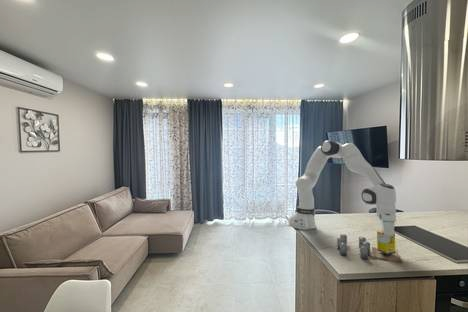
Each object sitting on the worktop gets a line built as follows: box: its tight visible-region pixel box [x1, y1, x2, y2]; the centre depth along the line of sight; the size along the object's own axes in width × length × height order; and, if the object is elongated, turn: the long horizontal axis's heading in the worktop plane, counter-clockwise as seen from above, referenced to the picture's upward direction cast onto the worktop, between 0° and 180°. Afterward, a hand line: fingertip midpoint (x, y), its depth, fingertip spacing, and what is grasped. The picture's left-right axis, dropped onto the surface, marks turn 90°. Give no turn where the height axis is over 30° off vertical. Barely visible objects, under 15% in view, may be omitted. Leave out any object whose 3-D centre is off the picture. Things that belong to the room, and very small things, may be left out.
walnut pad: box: [371, 246, 403, 264], centre depth 124 cm, size 12×14×1 cm
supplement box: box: [376, 229, 396, 255], centre depth 124 cm, size 6×6×11 cm
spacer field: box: [336, 233, 371, 261], centre depth 130 cm, size 17×18×6 cm
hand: (385, 238), depth 124 cm, fingers closed on supplement box, 8 cm apart
